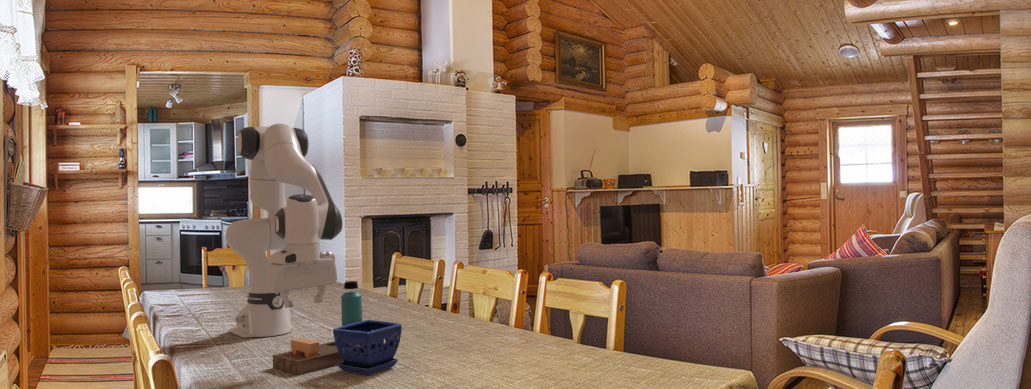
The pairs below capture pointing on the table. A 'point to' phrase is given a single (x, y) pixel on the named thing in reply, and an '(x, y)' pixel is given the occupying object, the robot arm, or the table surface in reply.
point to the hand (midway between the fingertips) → (303, 304)
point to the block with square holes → (308, 360)
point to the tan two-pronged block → (305, 347)
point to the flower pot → (367, 346)
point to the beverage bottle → (351, 304)
